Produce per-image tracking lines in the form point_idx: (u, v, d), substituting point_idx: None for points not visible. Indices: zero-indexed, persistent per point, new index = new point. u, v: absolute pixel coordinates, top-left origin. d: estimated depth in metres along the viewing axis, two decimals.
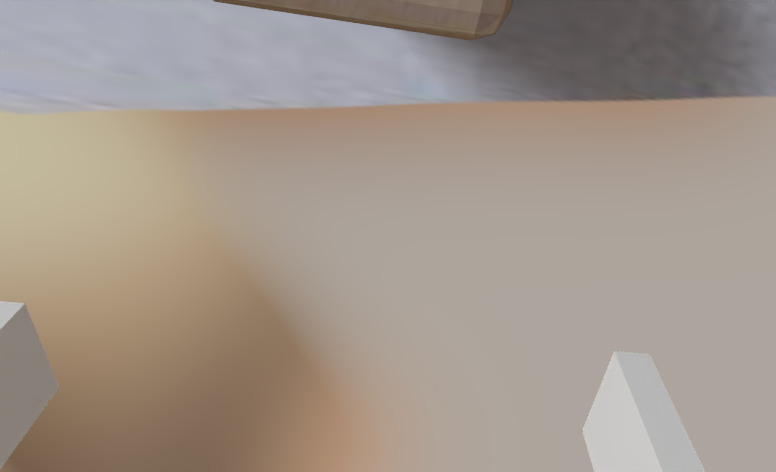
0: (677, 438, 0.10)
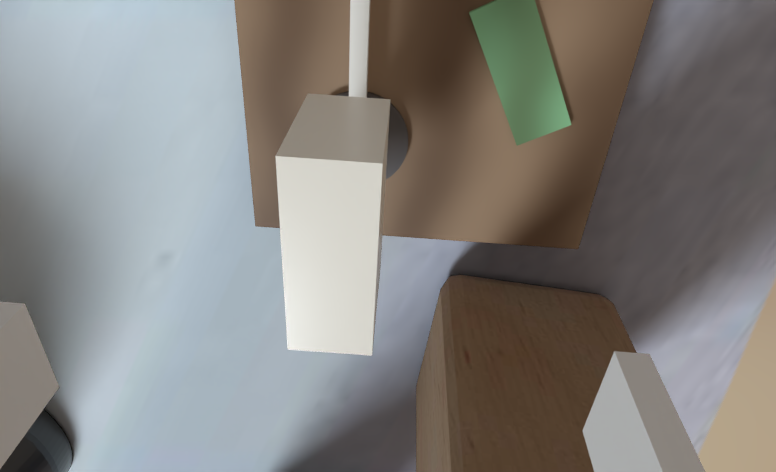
0: (677, 438, 0.10)
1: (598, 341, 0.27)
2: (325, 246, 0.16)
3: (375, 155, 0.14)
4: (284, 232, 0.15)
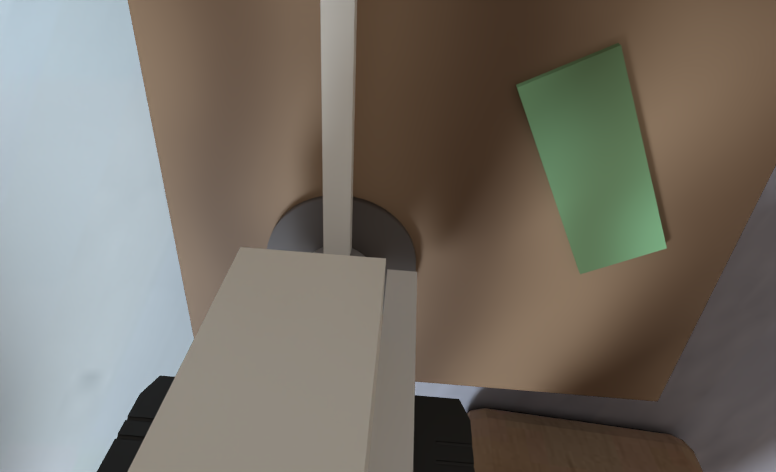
0: (405, 329, 0.12)
1: None
2: None
3: None
4: None
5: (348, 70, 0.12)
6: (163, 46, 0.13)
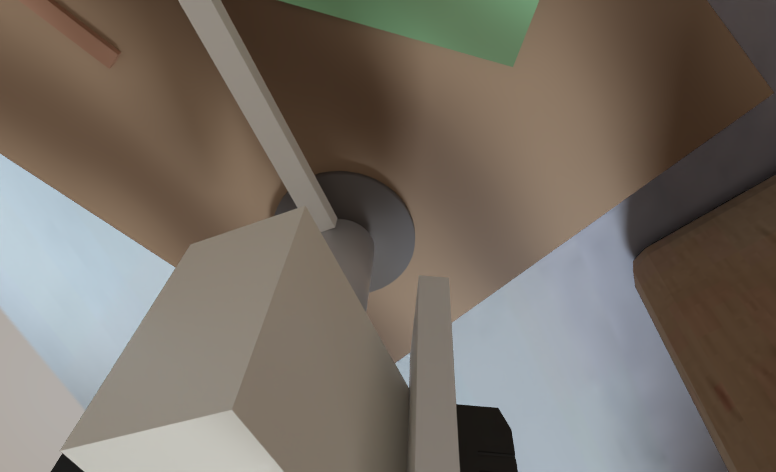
0: (441, 337, 0.12)
1: None
2: None
3: (228, 384, 0.07)
4: None
5: (240, 61, 0.13)
6: (109, 205, 0.17)
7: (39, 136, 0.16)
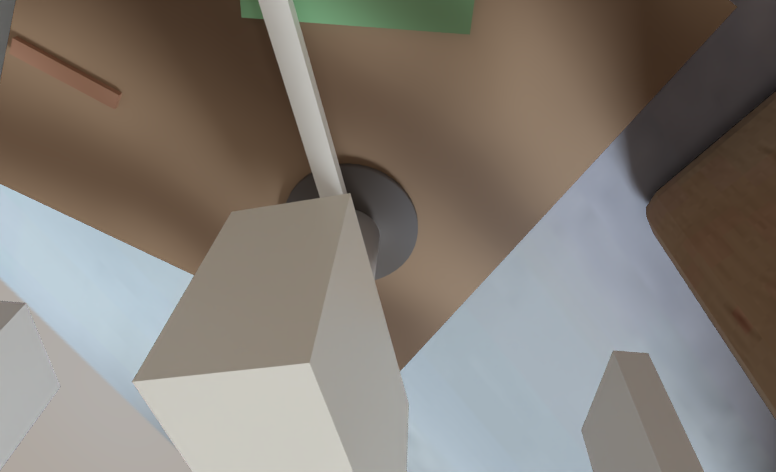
0: (675, 437, 0.10)
1: None
2: None
3: (300, 341, 0.08)
4: None
5: (296, 48, 0.14)
6: (139, 233, 0.18)
7: (69, 181, 0.17)
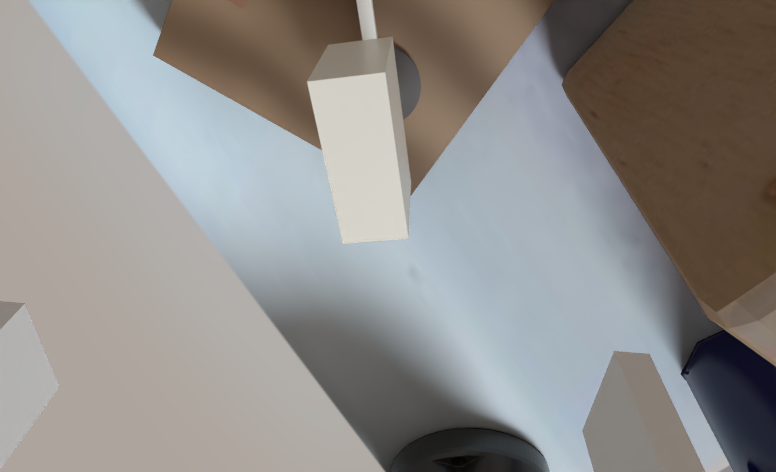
0: (677, 438, 0.10)
1: None
2: (355, 148, 0.20)
3: (379, 68, 0.19)
4: (323, 142, 0.20)
5: None
6: (246, 95, 0.30)
7: (207, 59, 0.29)
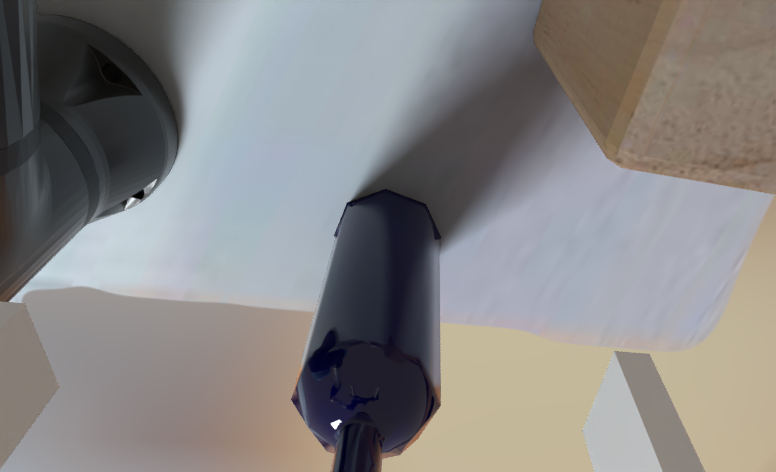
0: (677, 438, 0.10)
1: None
2: None
3: None
4: None
5: None
6: None
7: None
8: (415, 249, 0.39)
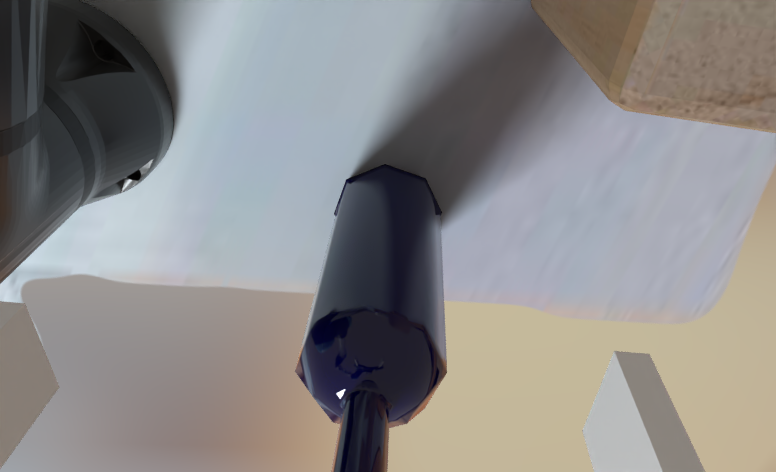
0: (677, 438, 0.10)
1: None
2: None
3: None
4: None
5: None
6: None
7: None
8: (416, 221, 0.38)
